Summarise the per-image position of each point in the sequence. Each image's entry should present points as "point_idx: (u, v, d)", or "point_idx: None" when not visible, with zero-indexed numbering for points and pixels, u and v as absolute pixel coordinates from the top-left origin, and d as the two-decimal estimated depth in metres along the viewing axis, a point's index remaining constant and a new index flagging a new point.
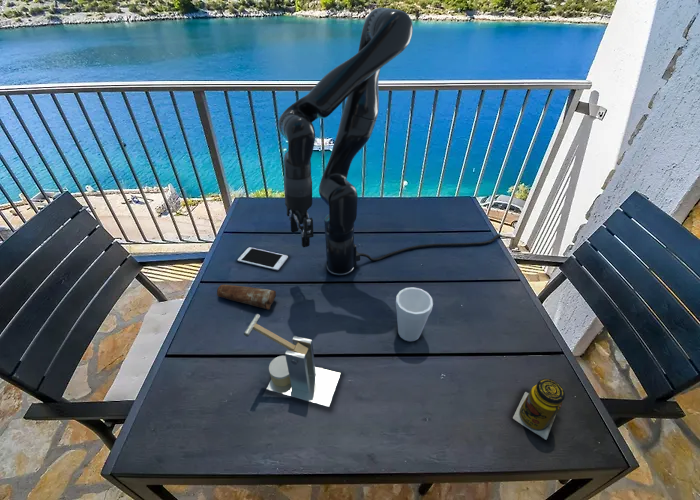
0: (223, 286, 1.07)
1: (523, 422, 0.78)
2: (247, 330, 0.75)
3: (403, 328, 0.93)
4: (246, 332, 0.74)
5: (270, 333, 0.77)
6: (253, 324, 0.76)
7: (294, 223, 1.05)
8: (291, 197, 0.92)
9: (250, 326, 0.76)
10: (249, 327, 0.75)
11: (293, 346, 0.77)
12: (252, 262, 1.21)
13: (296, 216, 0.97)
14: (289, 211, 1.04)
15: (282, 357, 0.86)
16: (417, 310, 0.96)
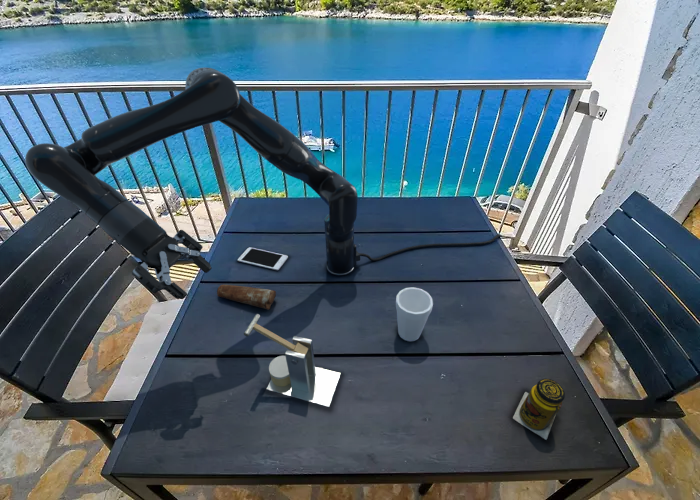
0: (223, 286, 1.07)
1: (523, 422, 0.78)
2: (247, 330, 0.75)
3: (403, 328, 0.93)
4: (246, 332, 0.74)
5: (270, 333, 0.77)
6: (253, 324, 0.76)
7: (197, 262, 0.76)
8: None
9: (250, 326, 0.76)
10: (249, 327, 0.75)
11: (293, 346, 0.77)
12: (252, 262, 1.21)
13: None
14: (189, 248, 0.77)
15: (282, 357, 0.86)
16: (417, 310, 0.96)
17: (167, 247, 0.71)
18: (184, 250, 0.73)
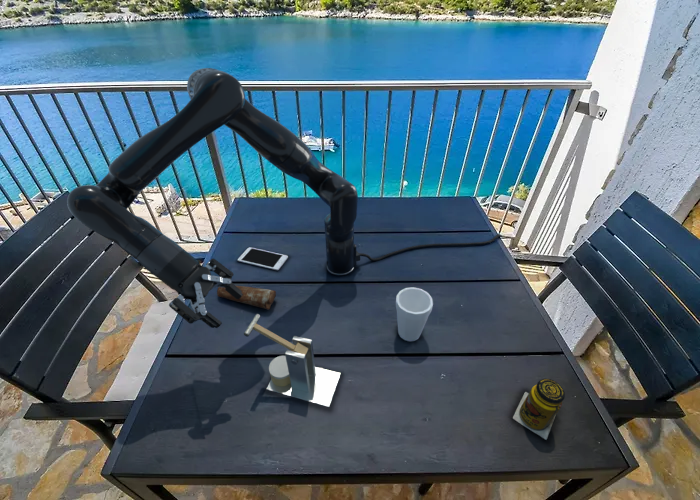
0: None
1: (523, 422, 0.78)
2: (247, 330, 0.75)
3: (403, 328, 0.93)
4: (246, 332, 0.74)
5: (270, 333, 0.77)
6: (253, 324, 0.76)
7: (228, 289, 0.78)
8: None
9: (250, 326, 0.76)
10: (249, 327, 0.75)
11: (293, 346, 0.77)
12: (252, 262, 1.21)
13: None
14: (220, 275, 0.79)
15: (282, 357, 0.86)
16: (417, 310, 0.96)
17: (201, 277, 0.73)
18: (217, 279, 0.75)
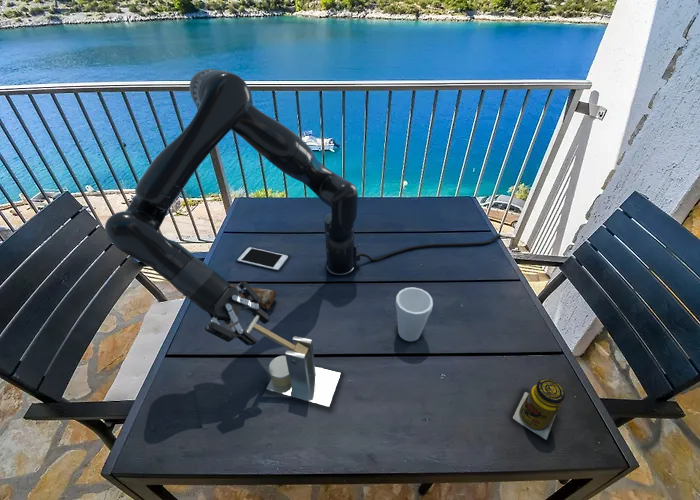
0: None
1: (523, 422, 0.78)
2: (247, 330, 0.75)
3: (403, 328, 0.93)
4: None
5: (270, 333, 0.77)
6: (253, 324, 0.76)
7: None
8: None
9: (250, 326, 0.76)
10: (249, 327, 0.75)
11: (293, 346, 0.77)
12: (252, 262, 1.21)
13: None
14: (248, 299, 0.80)
15: (282, 357, 0.86)
16: (417, 310, 0.96)
17: (231, 298, 0.74)
18: (245, 302, 0.76)
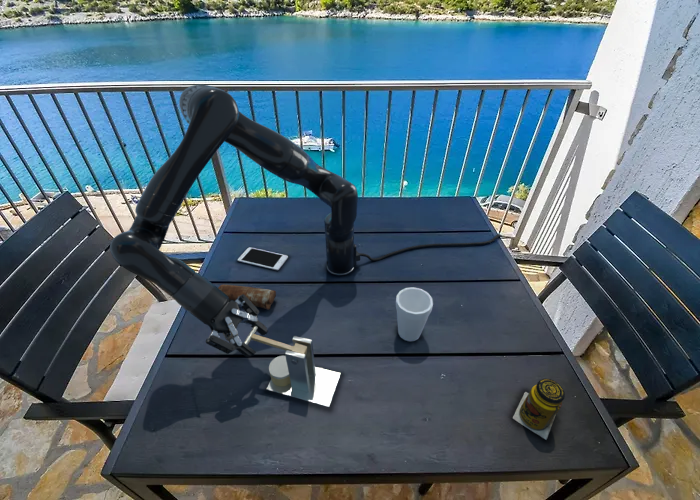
0: (223, 286, 1.07)
1: (523, 422, 0.78)
2: (244, 341, 0.78)
3: (403, 328, 0.93)
4: None
5: (268, 340, 0.79)
6: (250, 335, 0.79)
7: None
8: None
9: (247, 337, 0.79)
10: (246, 338, 0.78)
11: (292, 347, 0.78)
12: (252, 262, 1.21)
13: None
14: (247, 311, 0.83)
15: (282, 357, 0.86)
16: (417, 310, 0.96)
17: (230, 312, 0.77)
18: (244, 315, 0.79)
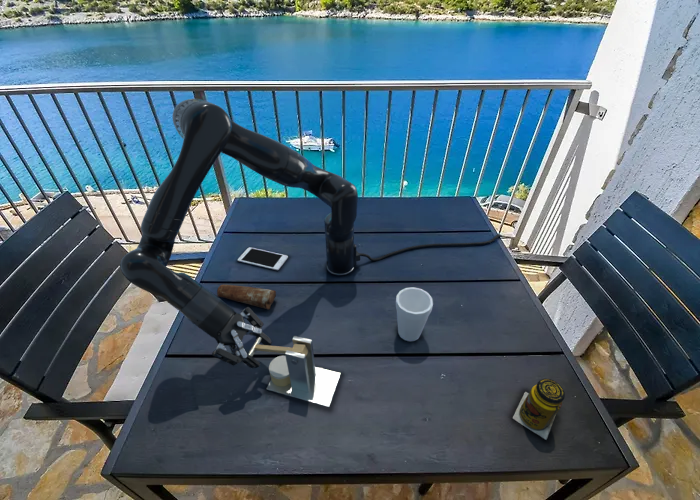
0: (223, 286, 1.07)
1: (523, 422, 0.78)
2: None
3: (403, 328, 0.93)
4: (247, 354, 0.80)
5: (269, 347, 0.80)
6: (253, 346, 0.82)
7: None
8: None
9: (251, 348, 0.81)
10: (250, 349, 0.81)
11: (291, 349, 0.78)
12: (252, 262, 1.21)
13: None
14: (251, 323, 0.86)
15: (282, 357, 0.86)
16: (417, 310, 0.96)
17: (236, 324, 0.80)
18: (249, 327, 0.82)
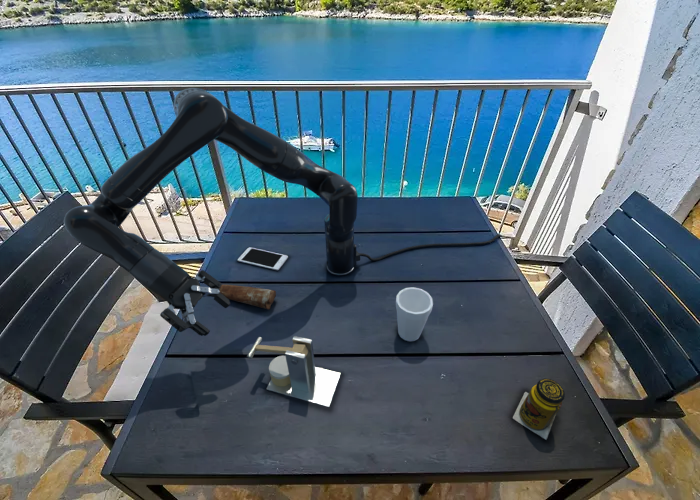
0: (223, 286, 1.07)
1: (523, 422, 0.78)
2: (249, 353, 0.80)
3: (403, 328, 0.93)
4: (248, 355, 0.80)
5: (269, 347, 0.80)
6: (254, 346, 0.82)
7: (217, 299, 0.83)
8: None
9: (251, 349, 0.81)
10: (250, 350, 0.81)
11: (291, 349, 0.78)
12: (252, 262, 1.21)
13: None
14: (209, 285, 0.84)
15: (282, 357, 0.86)
16: (417, 310, 0.96)
17: (190, 288, 0.78)
18: (205, 290, 0.80)
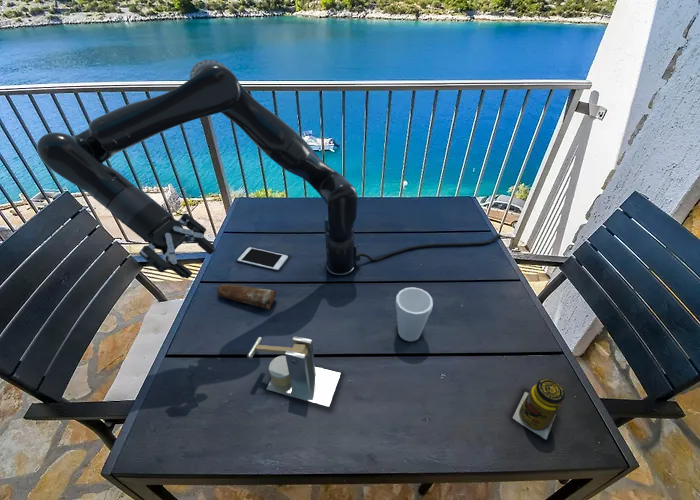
0: (223, 286, 1.07)
1: (523, 422, 0.78)
2: (249, 353, 0.80)
3: (403, 328, 0.93)
4: (248, 355, 0.80)
5: (269, 347, 0.80)
6: (254, 346, 0.82)
7: (201, 244, 0.80)
8: None
9: (251, 349, 0.81)
10: (250, 350, 0.81)
11: (291, 349, 0.78)
12: (252, 262, 1.21)
13: None
14: (193, 231, 0.81)
15: (282, 357, 0.86)
16: (417, 310, 0.96)
17: (172, 229, 0.75)
18: (188, 232, 0.77)
